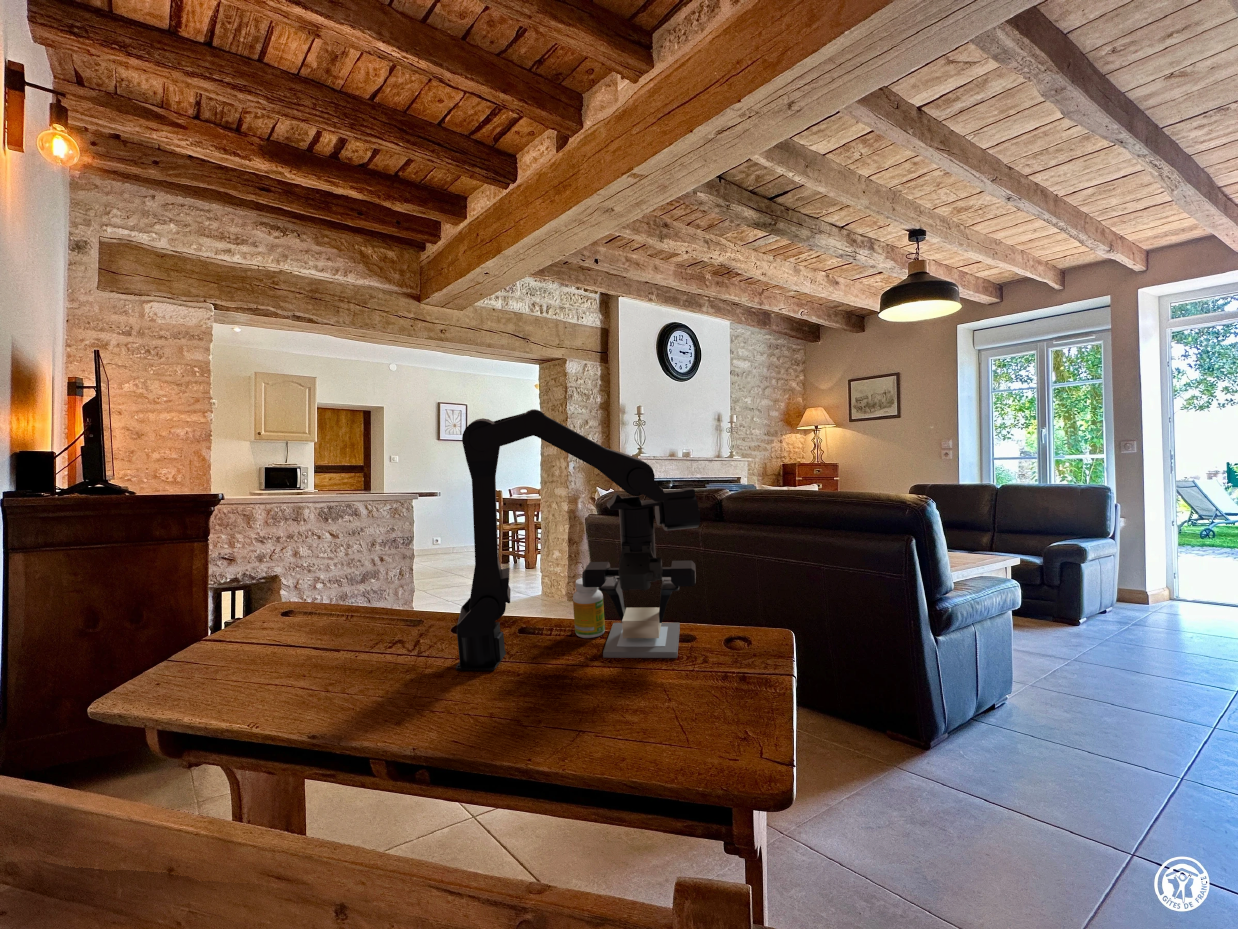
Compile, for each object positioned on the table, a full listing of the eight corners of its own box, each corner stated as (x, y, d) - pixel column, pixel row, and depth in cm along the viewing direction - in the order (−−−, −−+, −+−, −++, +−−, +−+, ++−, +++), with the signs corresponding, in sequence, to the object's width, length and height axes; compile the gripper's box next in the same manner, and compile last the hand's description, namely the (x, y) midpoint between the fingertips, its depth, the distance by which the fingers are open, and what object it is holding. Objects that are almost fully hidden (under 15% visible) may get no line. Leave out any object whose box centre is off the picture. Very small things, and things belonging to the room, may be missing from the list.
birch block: (622, 638, 104) (622, 621, 104) (627, 623, 110) (626, 607, 110) (658, 638, 103) (658, 620, 103) (661, 623, 109) (660, 607, 109)
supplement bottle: (601, 639, 109) (598, 585, 108) (571, 638, 110) (567, 585, 109) (608, 627, 114) (604, 575, 113) (579, 626, 115) (576, 575, 114)
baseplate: (603, 657, 102) (603, 651, 102) (613, 628, 114) (613, 622, 113) (677, 658, 100) (676, 651, 100) (679, 628, 112) (679, 622, 112)
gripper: (572, 547, 98) (579, 642, 100) (692, 545, 95) (696, 642, 97) (585, 529, 109) (591, 615, 111) (693, 527, 106) (697, 615, 108)
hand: (642, 622), depth 106 cm, fingers closed on birch block, 6 cm apart
